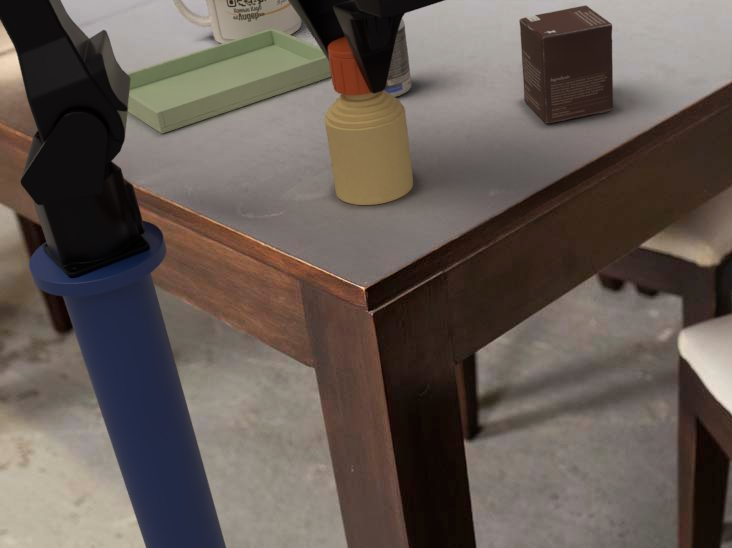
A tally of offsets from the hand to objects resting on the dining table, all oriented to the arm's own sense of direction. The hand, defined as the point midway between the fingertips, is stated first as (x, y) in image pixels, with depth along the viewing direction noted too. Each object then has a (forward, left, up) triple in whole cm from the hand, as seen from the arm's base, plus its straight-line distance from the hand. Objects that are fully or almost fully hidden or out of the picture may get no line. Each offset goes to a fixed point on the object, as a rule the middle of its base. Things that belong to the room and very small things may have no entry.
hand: (362, 85), depth 80 cm
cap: (0, 0, 0) cm, 0 cm away
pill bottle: (+12, +17, -8) cm, 22 cm away
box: (+20, +1, -8) cm, 22 cm away
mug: (+12, +45, -8) cm, 47 cm away
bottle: (0, 0, -8) cm, 8 cm away
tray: (+2, +31, -8) cm, 32 cm away
